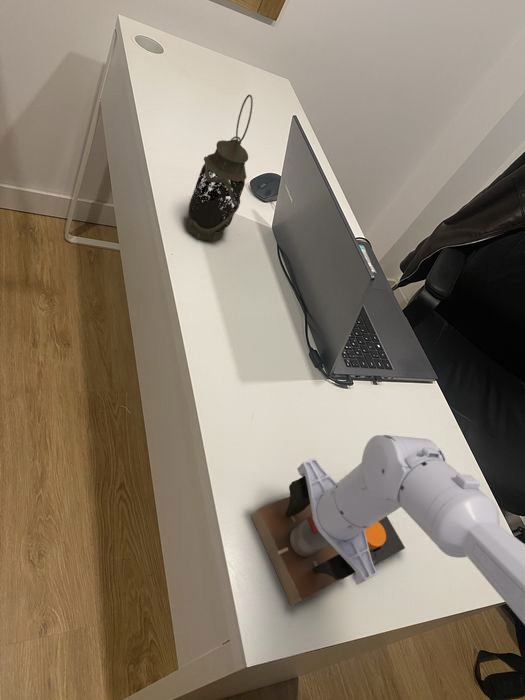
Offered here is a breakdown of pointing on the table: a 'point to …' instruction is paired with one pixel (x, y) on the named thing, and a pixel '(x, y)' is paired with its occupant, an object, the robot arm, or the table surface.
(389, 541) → the switch block
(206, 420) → the table surface
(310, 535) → the dial
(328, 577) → the dimmer panel
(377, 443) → the robot arm
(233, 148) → the lantern
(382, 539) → the switch button
